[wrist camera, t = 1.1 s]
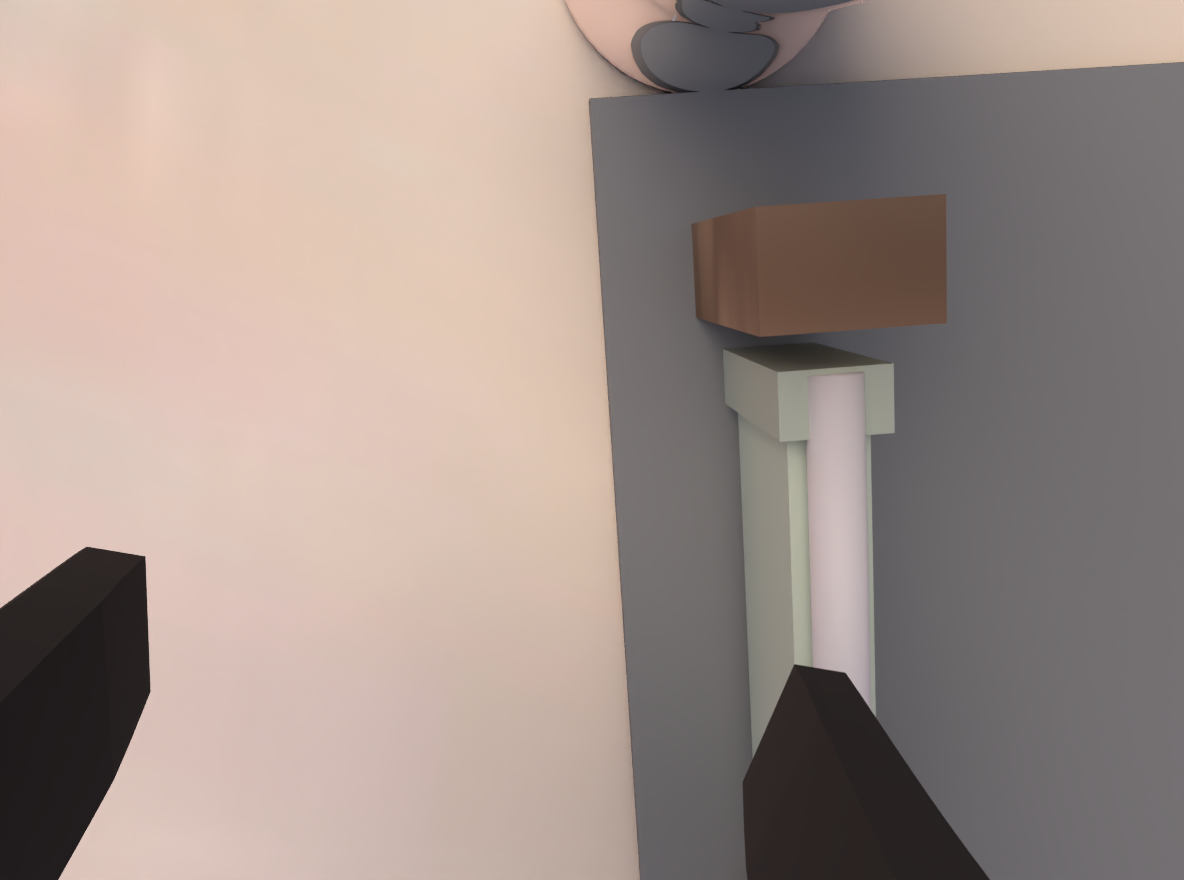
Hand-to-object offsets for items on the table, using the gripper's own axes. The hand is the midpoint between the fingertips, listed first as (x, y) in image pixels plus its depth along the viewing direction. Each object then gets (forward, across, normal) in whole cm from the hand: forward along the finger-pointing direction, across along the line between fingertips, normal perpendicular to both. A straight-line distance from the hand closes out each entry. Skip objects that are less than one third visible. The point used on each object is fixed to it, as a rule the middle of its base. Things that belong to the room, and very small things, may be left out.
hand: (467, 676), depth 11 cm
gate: (+9, -7, +6) cm, 13 cm away
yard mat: (+10, -12, +4) cm, 17 cm away
